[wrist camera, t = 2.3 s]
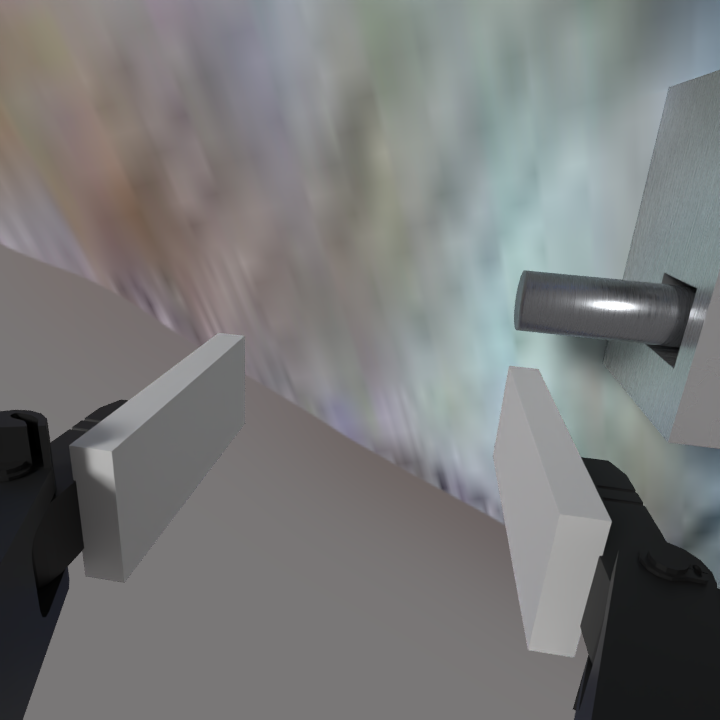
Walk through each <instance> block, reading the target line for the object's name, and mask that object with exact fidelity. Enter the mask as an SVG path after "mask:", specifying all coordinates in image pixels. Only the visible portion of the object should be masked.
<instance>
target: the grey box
mask: <svg viewBox="0 0 720 720" xmlns="http://www.w3.org/2000/svg"><path fill="white" fill-rule="evenodd" d="M623 280H630V281H640V282H650V283H661V284H671V285H682V286H692V287H696V288H697V291H696V295H695V298H694V302H693V305H692V308H691V312H690V315H689V319H688V322H687V326H686V329H685V333H684V336H683V339H682V343H681V346H680V348H679V347H669V346H660V345H650V344H641V343H632V342H622V341H613V340H608V343H607V347H606V351H605V355H604V359H603V364H604V365H605V366H606V368H607V369H608V370H609V371H610V373H611V374H612V375H613V376H614V377H615V379H616V380H617V381H618V382H619V384H620V385H621V386H622V387H623V388H624V390H625V391H626V392H627V393H628V394H629V396H630V397H631V398H632V399H633V401H634V402H635V403H636V404H637V405H638V407H639V408H640V409H641V410H642V411H643V413H644V414H645V415H646V416H647V418H648V419H649V420H650V421H651V422H652V424H653V425H654V426H655V427H656V428H657V430H658V431H659V432H660V433H661V435H662V436H663V437H664V438H665V439H666V441H667V442H669V443H677V444H685V445H693V446H701V447H709V448H717V449H720V70H718V71H715V72H712V73H709V74H706V75H704V76H701V77H698V78H695V79H692V80H689V81H686V82H683V83H680V84H677V85H674V86H672V87H669V89H668V93H667V97H666V102H665V106H664V110H663V114H662V118H661V122H660V127H659V131H658V135H657V139H656V143H655V147H654V151H653V156H652V160H651V164H650V168H649V172H648V176H647V181H646V185H645V189H644V193H643V197H642V201H641V205H640V210H639V214H638V218H637V222H636V226H635V230H634V235H633V239H632V243H631V247H630V251H629V255H628V259H627V264H626V268H625V272H624V276H623Z"/></svg>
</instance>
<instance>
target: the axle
mask: <svg viewBox="0 0 720 720" xmlns="http://www.w3.org/2000/svg"><path fill="white" fill-rule="evenodd" d="M696 291H697V288H696V287H692V286H682V285H671V284H661V283H650V282H640V281H630V280H619V279H609V278H598V277H588V276H577V275H567V274H556V273H546V272H535V271H523V273H522V275H521V278H520V281H519V285H518V289H517V294H516V301H515V310H514V325H515V329H516V330H520V331H529V332H538V333H548V334H557V335H566V336H576V337H585V338H594V339H604V340H613V341H622V342H632V343H641V344H650V345H660V346H669V347H679V348H680V346H681V343H682V339H683V336H684V333H685V329H686V326H687V322H688V319H689V315H690V312H691V308H692V305H693V302H694V298H695V295H696Z"/></svg>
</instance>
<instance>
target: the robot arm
mask: <svg viewBox="0 0 720 720" xmlns="http://www.w3.org/2000/svg"><path fill="white" fill-rule="evenodd" d="M244 424H245V336H241V335H233V334H224V333H218V334H216V335H215V336H214V337H212V338H211V339H210V340H208V341H207V342H206V343H204V344H203V345H202V346H200V347H199V348H198V349H196V350H195V351H194V352H192V353H191V354H190V355H189V356H187V357H186V358H185V359H183V360H182V361H181V362H179V363H178V364H177V365H175V366H174V367H173V368H171V369H170V370H169V371H167V372H166V373H165V374H163V375H162V376H161V377H159V378H158V379H157V380H155V381H154V382H153V383H152V384H150V385H149V386H147V387H146V388H145V389H143V390H142V391H141V392H139V393H138V394H137V395H135V396H134V397H133V398H132V399H130V400H129V401H128V400H119V401H116V402H114V403H111V404H108V405H106V406H103V407H101V408H99V409H98V410H96V411H94V412H93V413H92V414H90V415H89V416H88V417H86V418H85V420H84V421H80V422H79V423H78V424H76V425H75V426H73V428H72V430H68V431H67V432H65V433H64V434H62V435H61V436H59V437H58V438H56V439H55V440H54V441H52V442H51V443H50V437H49V430H48V423H47V418H45V417H44V416H43V415H42V414H41V413H37V412H33V411H27V410H10V411H0V720H23V717H24V714H25V712H26V709H27V706H28V703H29V700H30V697H31V694H32V691H33V689H34V686H35V683H36V680H37V677H38V674H39V672H40V669H41V666H42V663H43V660H44V657H45V655H46V652H47V649H48V646H49V643H50V640H51V638H52V635H53V632H54V629H55V626H56V623H57V620H58V618H59V615H60V611H61V609H62V606H63V603H64V600H65V597H66V595H67V592H68V589H69V573H68V565H69V564H70V563H71V562H72V561H73V560H74V559H75V558H76V557H77V556H78V554H79V553H80V552H81V551H82V552H83V559H84V567H85V575H86V576H87V577H94V578H100V579H105V580H112V581H117V582H125V581H126V580H127V578H128V577H129V576H130V575H131V573H132V572H133V570H134V569H135V568H136V567H137V565H138V564H139V563H140V561H141V560H142V559H143V557H144V556H145V555H146V554H147V552H148V551H149V550H150V548H151V547H152V546H153V544H154V543H155V542H156V540H157V539H158V537H159V536H160V535H161V534H162V532H163V531H164V530H165V528H166V527H167V526H168V524H169V523H170V522H171V520H172V519H173V518H174V517H175V515H176V514H177V513H178V511H179V510H180V508H181V507H182V506H183V505H184V503H185V502H186V500H187V499H188V498H189V496H191V494H192V493H193V492H194V490H195V489H196V488H197V486H198V485H199V484H200V482H201V481H202V480H203V478H204V477H205V476H206V474H207V473H208V472H209V470H210V469H211V468H212V466H213V465H214V464H215V462H216V461H217V460H218V459H219V457H220V456H221V455H222V453H223V452H224V451H225V449H226V448H227V447H228V445H229V444H230V443H231V441H232V440H233V439H234V437H235V436H236V435H237V433H238V432H239V431H240V430H241V428H242V427H243V425H244ZM493 459H494V465H495V470H496V476H497V481H498V487H499V492H500V498H501V503H502V509H503V514H504V520H505V525H506V531H507V536H508V542H509V547H510V553H511V559H512V564H513V570H514V575H515V581H516V586H517V592H518V597H519V603H520V608H521V614H522V619H523V625H524V631H525V636H526V642H527V647H528V650H531V651H537V652H544V653H550V654H555V655H561V656H568V657H573V658H574V657H575V653H576V650H577V646H578V642H579V639H580V635H581V631H582V634H583V637H584V641H585V643H586V646H587V651H588V654H589V655H588V658H587V662H586V665H585V669H584V672H583V676H582V680H581V683H580V687H579V690H578V693H577V697H576V700H575V704H574V708H573V709H574V710H576V713H575V718H574V720H720V589H718V588H717V583H716V581H715V578H714V576H713V574H712V572H711V571H710V570H709V569H708V568H707V567H706V566H705V565H704V564H703V562H702V561H701V560H699V559H698V558H696V557H695V556H693V555H692V554H690V553H689V552H687V551H686V550H684V549H681V548H679V547H677V546H674V545H672V544H670V543H667V542H666V540H665V538H664V537H663V535H662V533H661V532H660V530H659V529H658V527H657V525H656V524H655V522H654V520H653V519H652V517H651V515H650V514H649V512H648V510H647V509H646V507H645V506H643V502H642V500H641V499H640V497H639V495H638V494H637V493H635V489H634V487H633V485H632V484H631V482H630V480H629V479H628V477H627V475H626V474H624V473H623V472H622V471H621V470H619V469H618V468H617V467H616V466H614V465H613V464H612V463H611V462H609V461H606V460H598V459H591V458H583V457H581V456H580V454H579V452H578V450H577V448H576V446H575V444H574V442H573V440H572V438H571V436H570V434H569V432H568V429H567V427H566V425H565V423H564V421H563V419H562V417H561V415H560V413H559V411H558V409H557V407H556V405H555V402H554V400H553V398H552V396H551V394H550V392H549V390H548V388H547V386H546V384H545V382H544V380H543V378H542V375H541V373H540V371H539V369H533V368H524V367H515V366H509V369H508V375H507V380H506V386H505V392H504V397H503V403H502V408H501V414H500V420H499V425H498V431H497V437H496V442H495V448H494V454H493Z"/></svg>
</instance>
